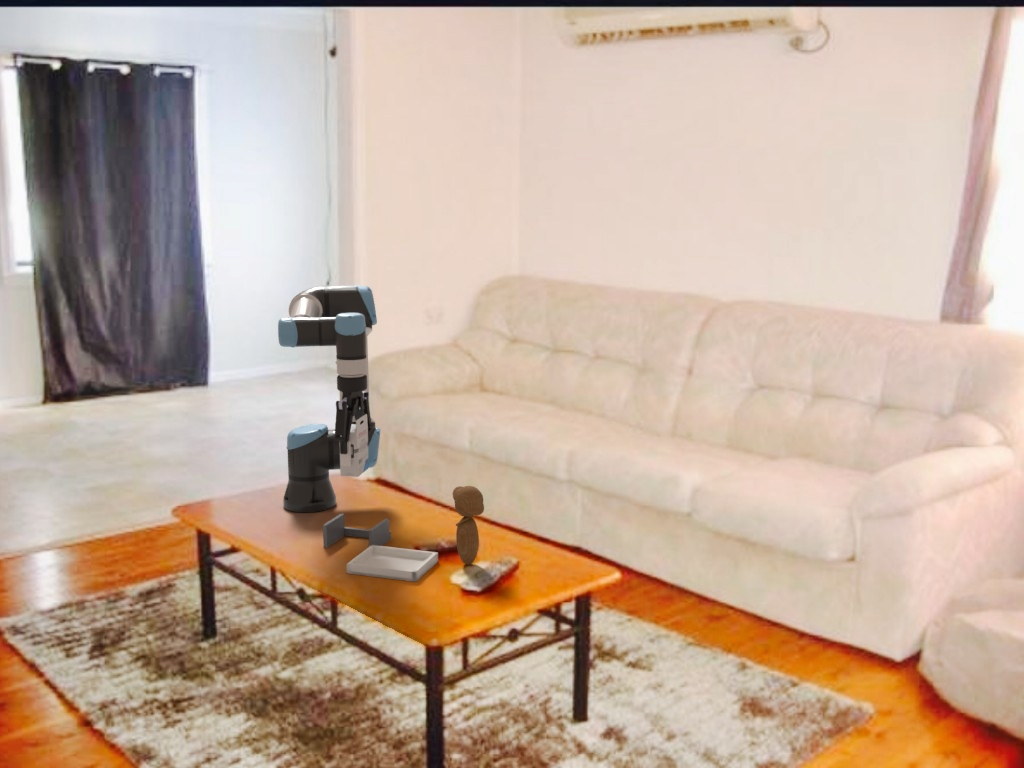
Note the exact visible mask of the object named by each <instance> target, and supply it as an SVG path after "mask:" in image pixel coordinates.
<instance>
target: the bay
mask: <svg viewBox="0 0 1024 768" xmlns="http://www.w3.org/2000/svg"><path fill="white" fill-rule="evenodd" d="M345 524H346V523H345V514H344V513H339V514H337V515H336V516H335V517H333V518H332V519H330V520H329V521H326V522H325V523H324V524H323V525H322V537H323V541H322V542H323V548H326V549H328V548H329V547H330V546H332V545H333V544H335V543H336V542H338V541H339V540H341V539H342V538H343V537H344V536H346V537H348V536H349V537H355V538H356V537H357V538H362V539H365V538H366V539H368V547H370V546H371V545H378V546H385V544H387V543H388V542H389V541H391V540H392V532H391V531H390V518H384V519H382V520H381V521H380V522H378V523H377V524H376V525H373V527H371V528H370V529H368V528H367V529H366V528H359V527H358V528H356V527H349V526H348V527H347V526H345Z"/></svg>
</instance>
